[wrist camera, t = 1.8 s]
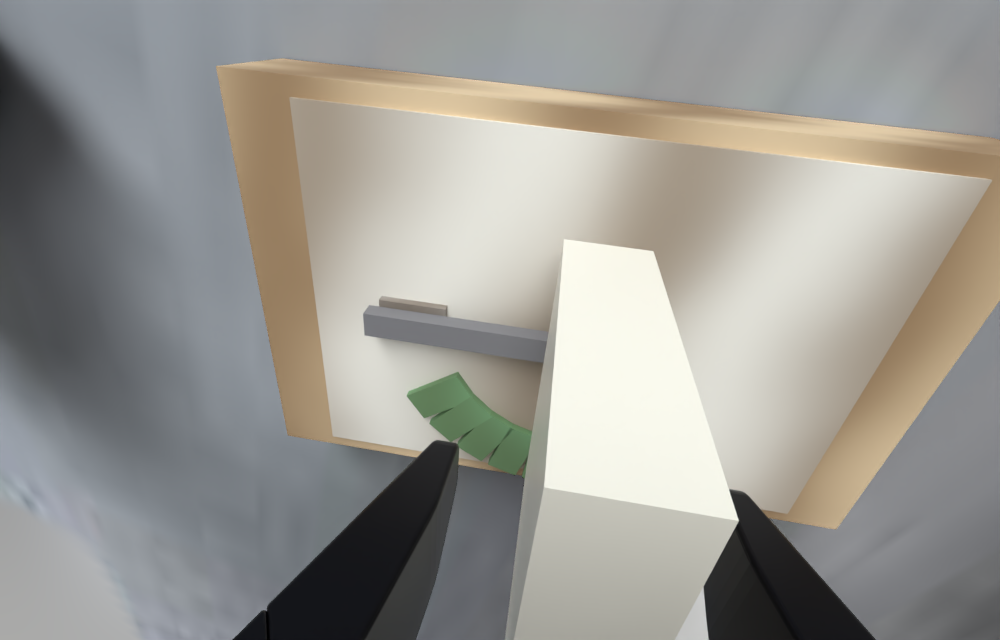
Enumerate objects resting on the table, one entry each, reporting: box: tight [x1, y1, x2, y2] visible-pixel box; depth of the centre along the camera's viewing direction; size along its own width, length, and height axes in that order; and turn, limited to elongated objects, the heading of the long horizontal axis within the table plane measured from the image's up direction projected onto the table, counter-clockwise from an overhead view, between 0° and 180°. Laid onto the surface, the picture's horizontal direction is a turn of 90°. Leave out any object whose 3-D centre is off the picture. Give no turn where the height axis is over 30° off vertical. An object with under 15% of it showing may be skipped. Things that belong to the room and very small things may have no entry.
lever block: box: [216, 59, 1000, 529], centre depth 13 cm, size 16×10×3 cm, turn 84°
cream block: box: [363, 239, 739, 640], centre depth 9 cm, size 6×6×7 cm
